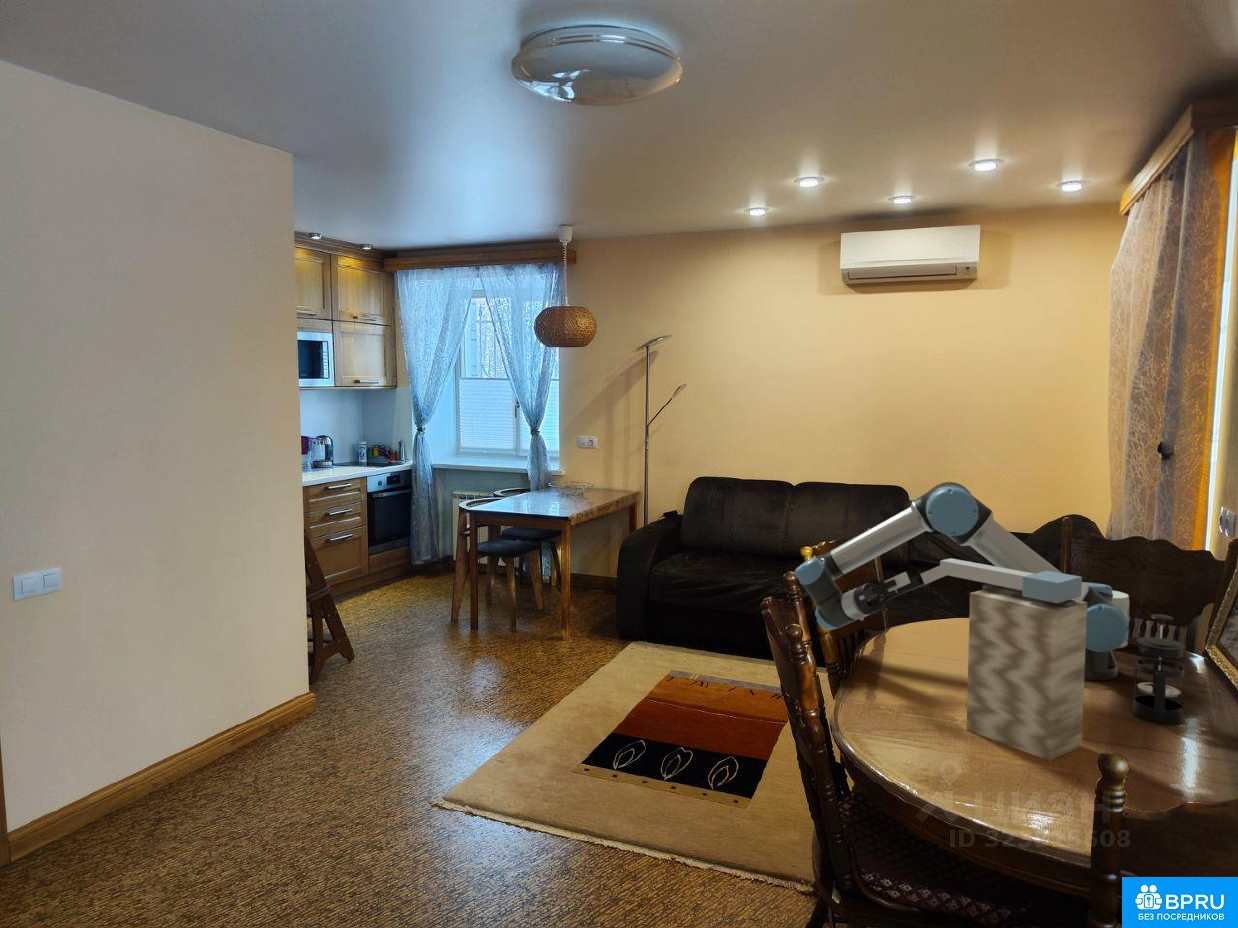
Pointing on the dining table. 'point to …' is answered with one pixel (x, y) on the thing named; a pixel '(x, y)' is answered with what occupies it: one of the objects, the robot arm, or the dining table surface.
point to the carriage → (1018, 580)
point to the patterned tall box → (1026, 671)
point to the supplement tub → (1122, 607)
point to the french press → (1159, 680)
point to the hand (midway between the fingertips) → (925, 573)
